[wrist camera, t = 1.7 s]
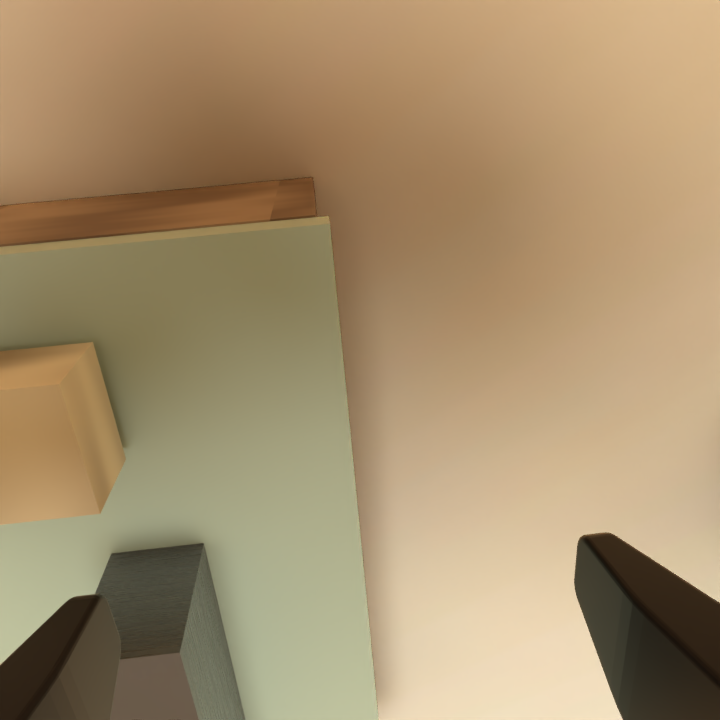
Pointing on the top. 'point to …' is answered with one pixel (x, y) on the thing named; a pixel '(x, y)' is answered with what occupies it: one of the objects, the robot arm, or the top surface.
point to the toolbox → (156, 211)
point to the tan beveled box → (55, 434)
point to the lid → (205, 471)
